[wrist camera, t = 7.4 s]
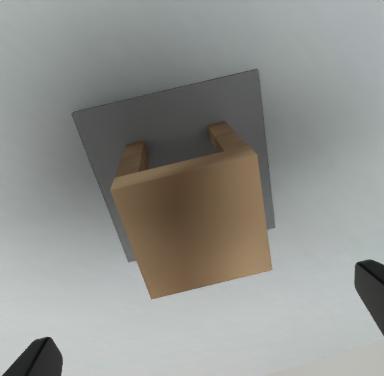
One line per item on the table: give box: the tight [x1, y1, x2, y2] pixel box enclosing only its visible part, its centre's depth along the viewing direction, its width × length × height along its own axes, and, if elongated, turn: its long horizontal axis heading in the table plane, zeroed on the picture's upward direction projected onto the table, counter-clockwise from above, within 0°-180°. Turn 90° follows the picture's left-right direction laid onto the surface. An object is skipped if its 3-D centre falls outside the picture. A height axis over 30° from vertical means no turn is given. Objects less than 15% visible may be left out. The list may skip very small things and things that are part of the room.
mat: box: [71, 69, 275, 262], centre depth 18 cm, size 10×10×1 cm
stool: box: [110, 121, 272, 299], centre depth 15 cm, size 6×6×6 cm
